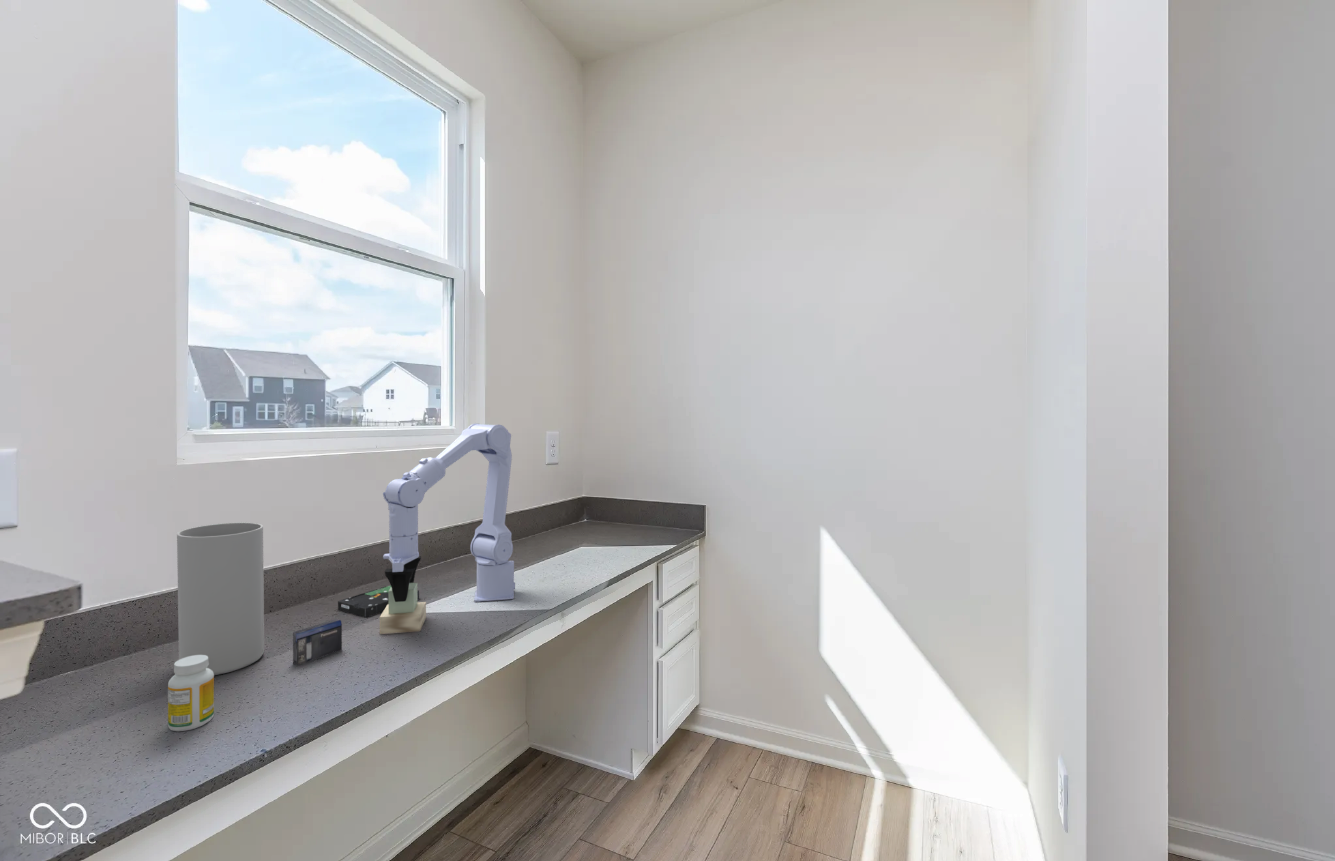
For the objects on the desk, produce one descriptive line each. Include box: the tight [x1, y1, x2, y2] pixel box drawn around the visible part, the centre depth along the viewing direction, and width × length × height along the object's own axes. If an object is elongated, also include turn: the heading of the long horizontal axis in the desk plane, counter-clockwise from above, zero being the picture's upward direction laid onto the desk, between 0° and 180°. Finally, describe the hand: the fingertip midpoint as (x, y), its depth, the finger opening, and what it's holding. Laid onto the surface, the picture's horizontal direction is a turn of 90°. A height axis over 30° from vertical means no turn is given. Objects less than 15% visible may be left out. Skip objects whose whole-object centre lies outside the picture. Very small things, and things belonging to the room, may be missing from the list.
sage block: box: [389, 582, 418, 614], centre depth 126 cm, size 5×5×5 cm
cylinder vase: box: [176, 522, 265, 676], centre depth 106 cm, size 12×12×25 cm
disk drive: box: [337, 585, 420, 618], centre depth 139 cm, size 10×3×15 cm
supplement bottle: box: [167, 655, 215, 732], centre depth 86 cm, size 5×5×10 cm
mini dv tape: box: [292, 618, 343, 666], centre depth 110 cm, size 8×2×6 cm, turn 149°
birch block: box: [378, 601, 427, 635], centre depth 126 cm, size 8×8×4 cm
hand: (403, 595), depth 126 cm, fingers open, 7 cm apart
